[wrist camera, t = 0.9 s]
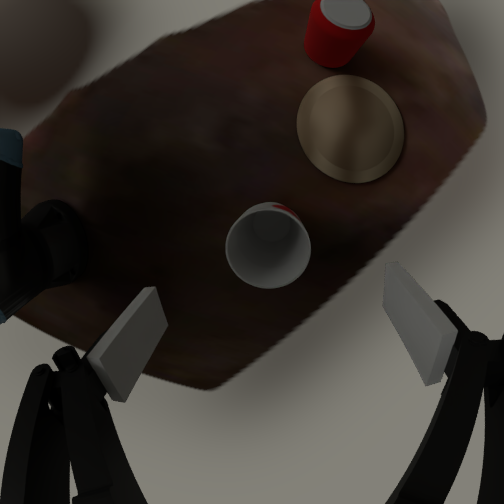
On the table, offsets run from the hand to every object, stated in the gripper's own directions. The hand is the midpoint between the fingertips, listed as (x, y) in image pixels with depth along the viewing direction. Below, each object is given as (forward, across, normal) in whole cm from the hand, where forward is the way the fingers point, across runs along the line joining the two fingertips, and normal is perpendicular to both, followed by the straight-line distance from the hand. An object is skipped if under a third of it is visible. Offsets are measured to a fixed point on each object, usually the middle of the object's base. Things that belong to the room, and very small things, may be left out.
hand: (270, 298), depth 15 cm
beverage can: (+22, +10, +21) cm, 32 cm away
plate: (+22, +11, +10) cm, 26 cm away
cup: (+22, -1, -1) cm, 22 cm away
